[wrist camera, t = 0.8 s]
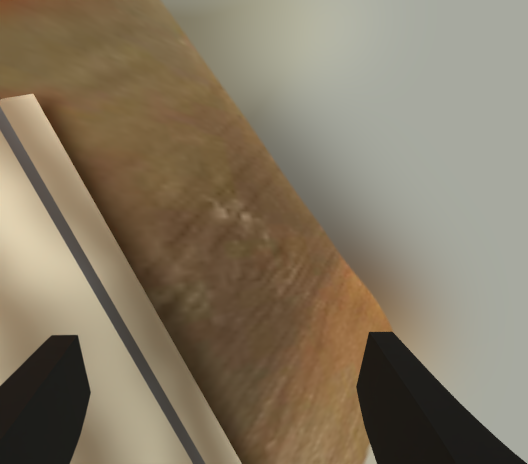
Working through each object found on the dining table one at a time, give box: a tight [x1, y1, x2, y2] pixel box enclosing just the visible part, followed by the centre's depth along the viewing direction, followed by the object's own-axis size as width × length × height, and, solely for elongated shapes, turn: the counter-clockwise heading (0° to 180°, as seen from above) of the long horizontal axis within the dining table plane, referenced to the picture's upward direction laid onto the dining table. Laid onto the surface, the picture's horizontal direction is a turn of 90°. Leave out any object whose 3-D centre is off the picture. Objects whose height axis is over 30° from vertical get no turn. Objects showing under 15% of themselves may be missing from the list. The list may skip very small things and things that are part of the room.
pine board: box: [0, 94, 242, 464], centre depth 21 cm, size 12×30×2 cm, turn 38°
